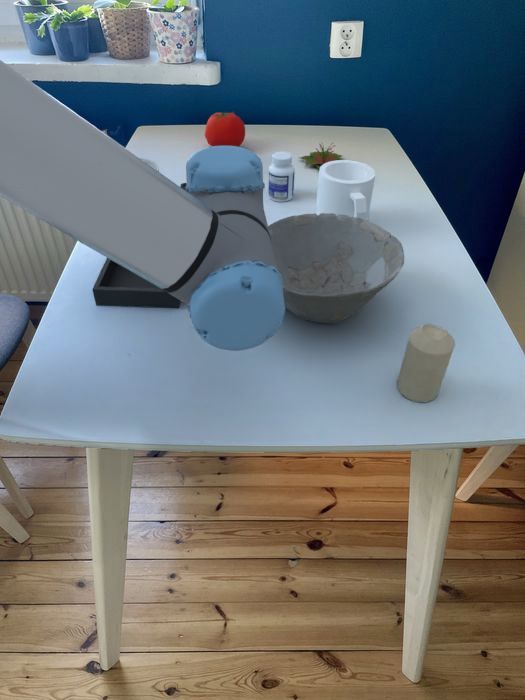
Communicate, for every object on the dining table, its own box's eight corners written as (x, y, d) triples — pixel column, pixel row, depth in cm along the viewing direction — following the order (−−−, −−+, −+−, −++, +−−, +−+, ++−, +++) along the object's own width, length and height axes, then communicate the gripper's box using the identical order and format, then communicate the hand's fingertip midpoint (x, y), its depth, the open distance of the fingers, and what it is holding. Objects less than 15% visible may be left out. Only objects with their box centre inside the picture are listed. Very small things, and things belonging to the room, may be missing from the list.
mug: (383, 241, 100) (394, 187, 93) (333, 249, 98) (339, 194, 91) (353, 208, 110) (360, 157, 103) (306, 215, 108) (311, 163, 100)
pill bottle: (279, 188, 116) (280, 147, 110) (298, 196, 114) (300, 154, 108) (263, 197, 113) (263, 155, 107) (282, 205, 111) (284, 162, 105)
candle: (441, 380, 73) (461, 323, 67) (434, 408, 69) (453, 350, 63) (402, 368, 75) (416, 311, 68) (392, 395, 71) (407, 337, 64)
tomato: (252, 146, 134) (252, 110, 128) (228, 159, 127) (227, 123, 122) (221, 138, 137) (220, 103, 132) (197, 151, 131) (194, 115, 125)
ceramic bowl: (233, 335, 80) (232, 279, 73) (272, 255, 96) (274, 204, 89) (384, 364, 75) (397, 308, 69) (398, 275, 92) (409, 223, 85)
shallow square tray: (95, 305, 84) (92, 289, 82) (115, 260, 94) (112, 244, 92) (179, 308, 84) (177, 292, 82) (190, 262, 94) (189, 247, 92)
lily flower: (288, 159, 128) (289, 140, 125) (328, 149, 133) (330, 130, 130) (319, 178, 120) (321, 158, 117) (360, 166, 125) (363, 147, 122)
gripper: (117, 301, 66) (59, 222, 80) (258, 254, 74) (184, 190, 88) (106, 248, 61) (46, 174, 75) (259, 203, 69) (179, 145, 83)
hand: (121, 183), depth 82 cm, fingers closed on cup, 8 cm apart
